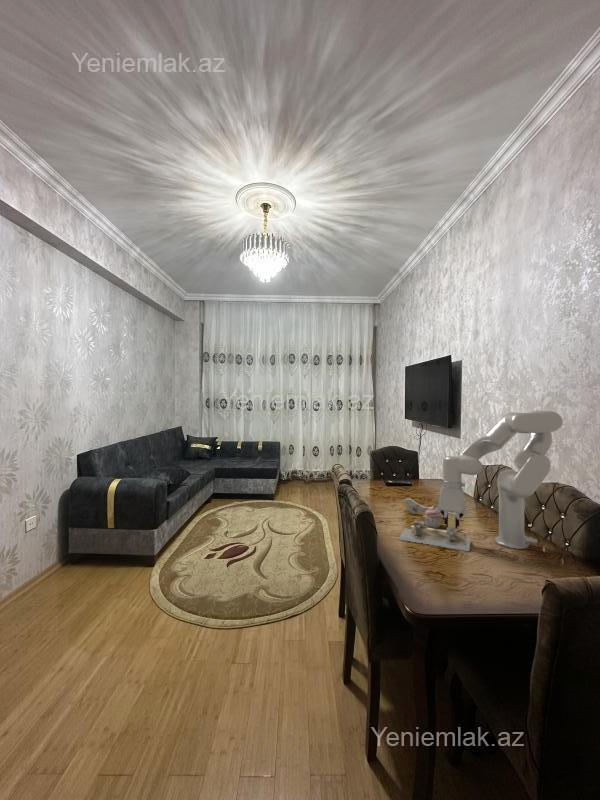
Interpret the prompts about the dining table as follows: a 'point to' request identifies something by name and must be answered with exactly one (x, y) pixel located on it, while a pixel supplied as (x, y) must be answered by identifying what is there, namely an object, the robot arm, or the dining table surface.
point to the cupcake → (432, 518)
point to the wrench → (418, 507)
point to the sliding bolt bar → (434, 531)
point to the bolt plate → (435, 540)
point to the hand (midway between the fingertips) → (451, 526)
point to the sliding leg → (451, 525)
